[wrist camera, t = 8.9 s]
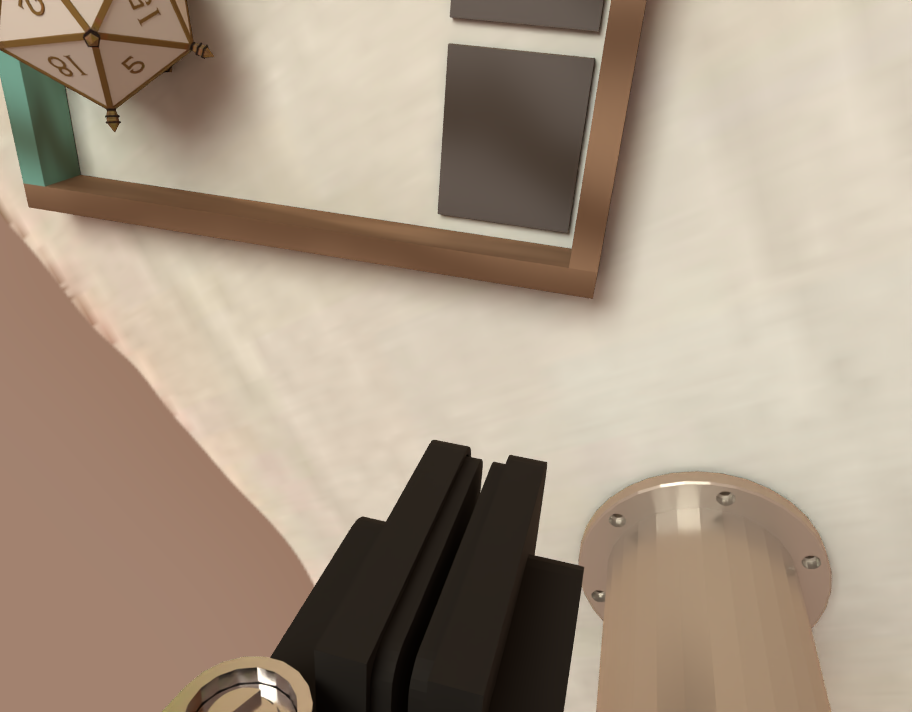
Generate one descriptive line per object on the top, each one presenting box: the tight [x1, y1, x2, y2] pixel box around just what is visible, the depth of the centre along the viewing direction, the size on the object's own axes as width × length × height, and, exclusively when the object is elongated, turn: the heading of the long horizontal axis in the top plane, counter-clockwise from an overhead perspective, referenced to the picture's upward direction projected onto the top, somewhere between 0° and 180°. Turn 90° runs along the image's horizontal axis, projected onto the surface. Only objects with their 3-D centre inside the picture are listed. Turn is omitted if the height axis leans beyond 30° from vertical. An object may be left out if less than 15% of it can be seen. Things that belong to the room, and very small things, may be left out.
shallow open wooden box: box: [0, 0, 647, 299], centre depth 29 cm, size 19×28×2 cm
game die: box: [0, 0, 214, 132], centre depth 28 cm, size 9×8×10 cm
